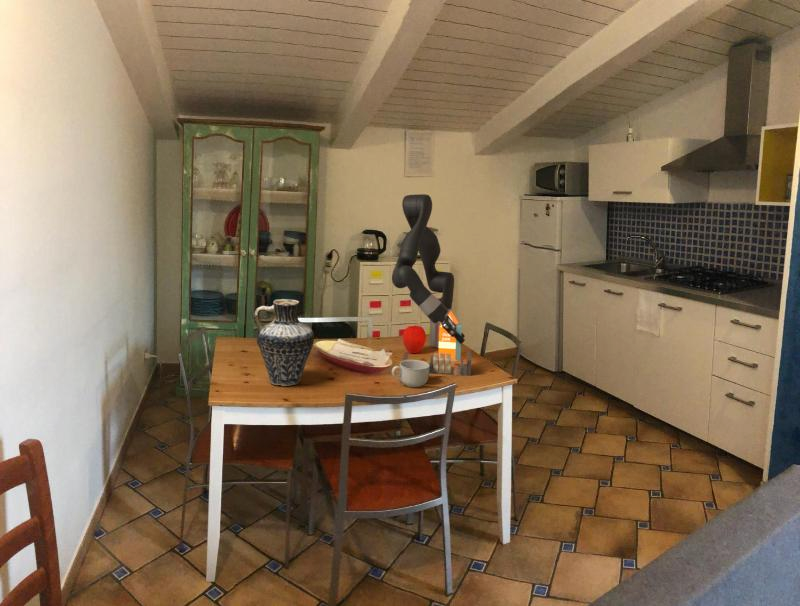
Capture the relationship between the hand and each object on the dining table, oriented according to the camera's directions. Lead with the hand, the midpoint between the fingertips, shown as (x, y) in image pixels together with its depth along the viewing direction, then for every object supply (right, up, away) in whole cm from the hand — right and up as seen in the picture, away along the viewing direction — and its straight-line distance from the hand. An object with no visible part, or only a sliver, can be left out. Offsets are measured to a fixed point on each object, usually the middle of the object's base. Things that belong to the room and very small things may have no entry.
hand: (462, 339), depth 256 cm
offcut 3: (-6, -11, +3) cm, 13 cm away
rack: (-10, -12, +3) cm, 16 cm away
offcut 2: (-8, -11, +3) cm, 14 cm away
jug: (-65, -15, -17) cm, 69 cm away
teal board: (-2, -7, +2) cm, 8 cm away
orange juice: (-4, -10, +20) cm, 22 cm away
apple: (-18, -7, +29) cm, 35 cm away
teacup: (-21, -16, -15) cm, 30 cm away
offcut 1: (-10, -11, +3) cm, 15 cm away
